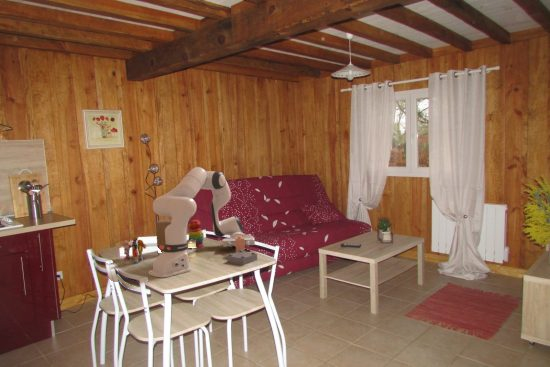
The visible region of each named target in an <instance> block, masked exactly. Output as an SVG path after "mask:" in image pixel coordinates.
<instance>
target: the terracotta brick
mask: <svg viewBox="0 0 550 367" xmlns="http://www.w3.org/2000/svg"><path fill="white" fill-rule="evenodd" d="M235 245H236V247H235V253H236V252H239V250H243V251H245V252H246V250H245V247H246V245H244V237H242V236H238V237H235Z"/></svg>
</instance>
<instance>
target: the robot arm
mask: <svg viewBox="0 0 550 367" xmlns="http://www.w3.org/2000/svg"><path fill="white" fill-rule="evenodd" d="M200 190H211V193H212V197H213V198H212V200H211V201H210V213H211V218H212V230H213V234H214V235H215V236H216V237H219V238H222V237H224V236H227V235H229V238H228V237H227V238H223V239H222V240H221V241H220V242H221V243H222V244H221V245H222V247H235V248H236V245H235V237H238V236H242V237H244V246H245V247H246V246H247V247H248V246H254V245H255V244H256V239H255V237H254V236H253V235H252V234H251V233H243V229H244V228H243V224H242V222H241V220H240V218H239V217H237V216H236V215H234V216H231V217H228V218H225V219H223V220H220V219H219V211H220V210H221V209H222V207H224V206H225V205H227V204H228V203H229V202H230V200H231V198H232V192H231V188H230V186H229V183H228V182H227V178H226V175H225V174H224V172H221V171H217V170H216V171H215V170H214V171H213V170H211V171H209V170H205V169H204V168H202V167H200V166H195V167H194V168H192V169H191V170H189V172H187V174H186V175H185V176H184V177H183V178H182V179H181V181H180V182H179V183H178V184H177V185H176V186H175V187H174V188H173V189H171V190H169V191H168V192H167V193H165V194H163V195H160V196H158V197H156V198H155V199H154V200H153V203H152V210H153V212H154V214H156V215H159V216H160V217H168V218H169V217H170V218H171V219H172V222H171V224H170V225H168V226H167V227H166V229H165V242H166V243H165V245H164V246H162V245H160V246H159V248H160V249H163V252H162V253H161V254H159V256H157V257H156V258H155V260H154V261H153V263H152V264H153V265H152V269H151V270H148V275H149V276H152V277H154V278H155V277H156V278H169V277H173V276H175V275H181V274H184V273H188V272H191V268H192V265H191V262H190V260H189V259H190V257H189V253H188V252H189V249H188V244H189V242H188V239H187V238H188V236H187V235H188V234H187V230H188V225H189V221H190V220H191V218H192V217H193V216H194V215H195V214H196V212H197V208H198V207H197V203H196V201H195V199H194V198H195V197H196V195H198V193H199V192H200Z"/></svg>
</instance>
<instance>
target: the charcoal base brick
mask: <svg viewBox="0 0 550 367" xmlns="http://www.w3.org/2000/svg"><path fill="white" fill-rule="evenodd" d="M257 260H258V253H256V252H255V251H252V252H249V251H246V250H245V251H243V250H239V252H236V251H235V252H232V253H228V255H226V263H231V264H236V265H240V266H241V265H242V266H245V264H246V265H248V264H250V263H253V262H255V261H257Z"/></svg>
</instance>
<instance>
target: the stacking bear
mask: <svg viewBox="0 0 550 367" xmlns="http://www.w3.org/2000/svg"><path fill="white" fill-rule="evenodd" d="M188 228H190V229H189V232H188V240H191V239H193V240H196V247H197V249H200V248H203V247H204V242H203V241H204V233H203V229H201V221H200V220H199V219H193V220H191V221H190V223H188Z"/></svg>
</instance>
